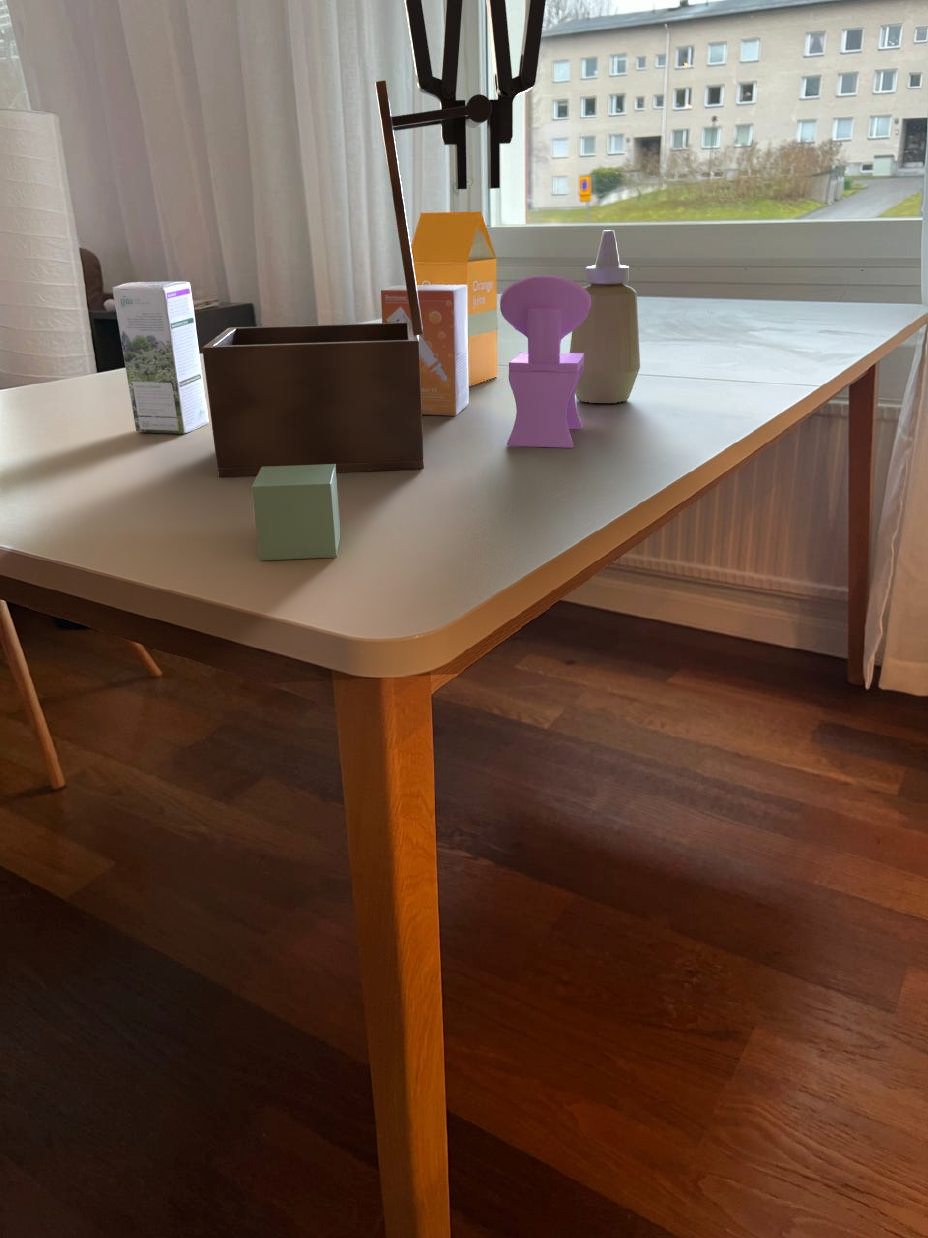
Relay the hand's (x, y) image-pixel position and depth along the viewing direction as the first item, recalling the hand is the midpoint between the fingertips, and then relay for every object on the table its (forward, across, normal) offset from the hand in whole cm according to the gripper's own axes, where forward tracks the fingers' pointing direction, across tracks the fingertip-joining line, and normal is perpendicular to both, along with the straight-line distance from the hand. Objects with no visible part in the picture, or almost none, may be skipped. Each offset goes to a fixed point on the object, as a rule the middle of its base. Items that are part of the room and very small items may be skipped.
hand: (477, 187), depth 81 cm
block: (+22, +14, +26) cm, 37 cm away
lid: (+2, +7, 0) cm, 7 cm away
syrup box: (+22, +31, -14) cm, 41 cm away
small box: (+22, +4, -19) cm, 30 cm away
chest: (+22, +14, 0) cm, 26 cm away
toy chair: (+22, -7, -4) cm, 24 cm away
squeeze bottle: (+22, -16, -21) cm, 34 cm away
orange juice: (+22, 0, -38) cm, 44 cm away
